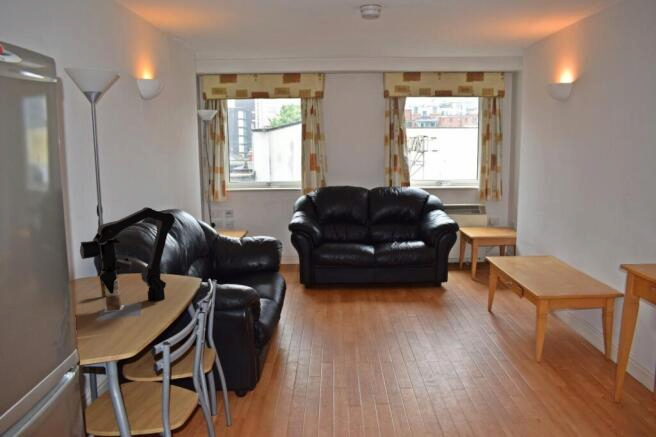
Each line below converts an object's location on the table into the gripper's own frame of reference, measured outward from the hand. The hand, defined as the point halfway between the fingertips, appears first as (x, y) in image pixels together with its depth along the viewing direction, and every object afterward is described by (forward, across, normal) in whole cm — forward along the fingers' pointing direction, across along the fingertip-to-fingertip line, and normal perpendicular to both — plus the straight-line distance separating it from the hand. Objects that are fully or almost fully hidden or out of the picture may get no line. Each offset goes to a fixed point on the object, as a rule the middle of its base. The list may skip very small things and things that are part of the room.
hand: (112, 291), depth 225 cm
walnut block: (+7, 0, 0) cm, 7 cm away
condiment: (+8, +25, +5) cm, 27 cm away
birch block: (+1, 0, 0) cm, 1 cm away
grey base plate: (+8, -5, -3) cm, 10 cm away
